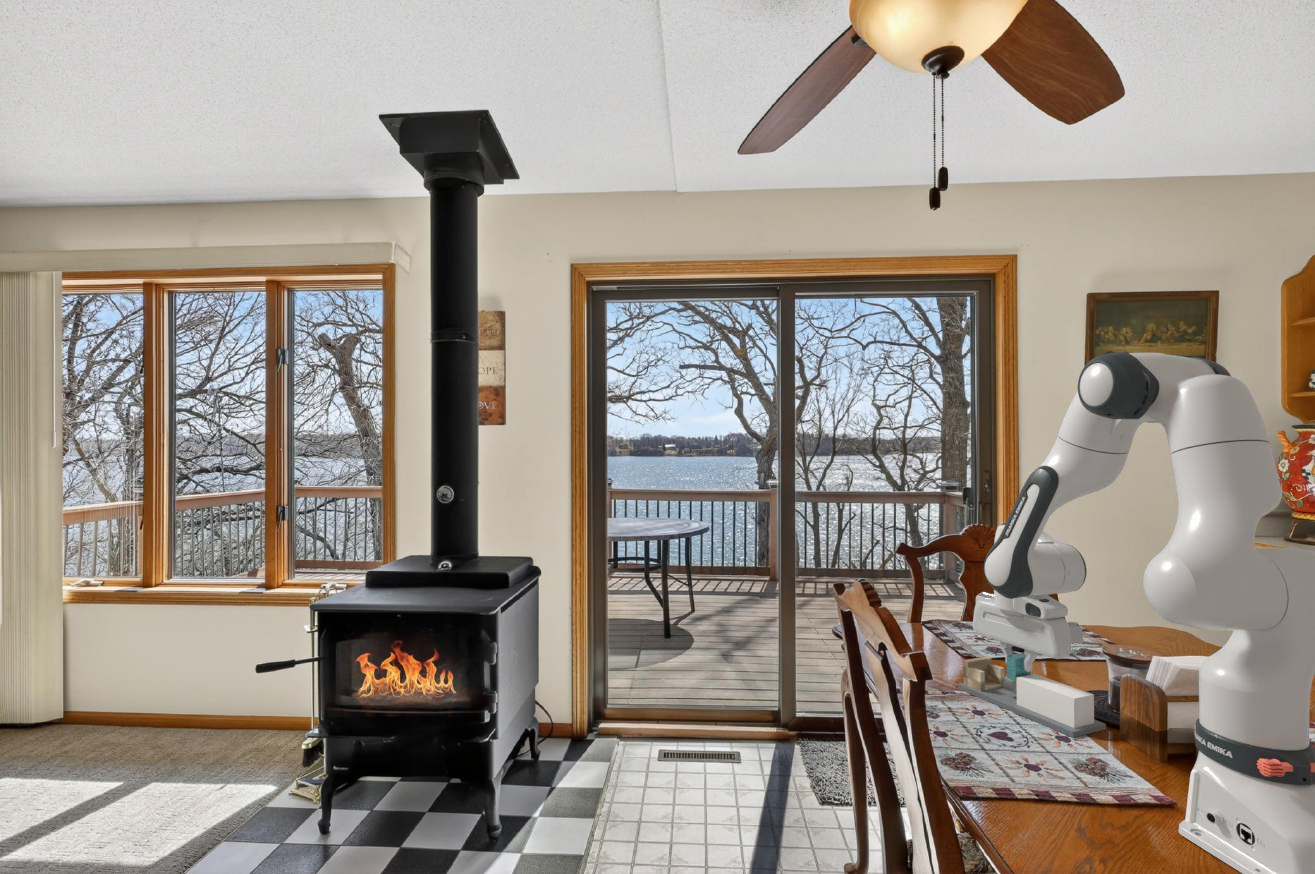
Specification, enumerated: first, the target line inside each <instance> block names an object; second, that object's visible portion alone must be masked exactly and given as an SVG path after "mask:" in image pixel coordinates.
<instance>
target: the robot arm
mask: <svg viewBox="0 0 1315 874" xmlns="http://www.w3.org/2000/svg"><path fill="white" fill-rule="evenodd" d="M1144 423H1151V424H1161V426H1162V427H1163V429H1164V430H1165V433H1166V437H1167V443H1168V450H1169V454H1170V459H1171V463H1172V470H1173V474H1174V475H1173V476H1174V481H1175V489H1176V495H1177V500H1178V501H1177V503H1178V504H1177V507H1178V508H1177V510H1178V511H1177V518H1176V523H1175V527H1174V530H1173V532H1172V534H1171V537H1170V539H1169V540H1168V542H1167V544H1166V545H1165V547H1164V548H1163V549H1162V550H1161V551H1160V552H1158V553H1157V554H1156V555H1155V556H1154V557H1153V558H1152V559H1151V560H1150V561H1149V562H1148V564H1147V566H1146V568H1145V570H1144V574H1143V578H1142V579H1143V580H1142V582H1143V583H1142V584H1143V592H1144V596H1145V598H1146V599H1147V602H1148V604H1149V605H1150V607H1151V609H1153V611H1154V612H1155V613H1157V615H1158V616H1159V617H1161V618H1162V619H1163V620H1165V621H1167V622H1169V623H1171V624H1176V625H1179V626H1180V625H1181V626H1184V627H1189V628H1194V629H1200V630H1206V631H1232V634H1231V635H1230V636H1229V639H1228V640H1227V641H1226V643H1225V644H1224V645H1223V646H1222V647H1221V648H1220V649H1219V650H1217V651H1216V652H1214V653H1213V654H1210V655H1209V656H1207V658H1205V660H1203V662H1202V663H1201V665H1200V667H1199V671H1198V704H1199V705H1198V706H1199V708H1198V710H1199V714H1198V716H1199V717H1198V718H1197V719H1196V720H1195V728H1194V737H1195V738H1194V740H1195V743H1194V744H1195V747H1196V749H1197V750H1198V754H1197V757H1196V761H1195V763H1194V766H1193V768H1192V770H1191V771H1190V777H1189V785H1188V793H1187V803H1186V809H1185V810H1186V812H1185V818H1184V819H1183V820H1182V821H1180V822H1179V825H1178V833H1179V835H1181V836H1182V837H1184V838H1185V839H1187V840H1188V841H1191V842H1192V843H1193V844H1195V845H1197V846H1198V847H1199V848H1202V850H1205V851H1206V852H1208V853H1209V854H1211V855H1212V856H1214V857H1215V858H1217V859H1219V860H1221V861H1222V862H1223V863H1225V864H1226V865H1228V866H1230V867H1232V868H1233V869H1235V870H1236V871H1238V872H1239V873H1240V874H1315V746H1314V744H1313V743H1312V742H1311V740H1310V707H1311V706H1310V705H1311V691H1312V686H1313V680H1314V678H1315V551H1314V550H1310V549H1304V548H1297V547H1256V543H1255V542H1256V541H1255V540H1256V531H1257V527H1258V524H1259V522H1260V520H1261V518H1263V517H1265V516H1267V515H1268V514H1270V513H1271V512H1273V511H1274V510H1275V509H1277V508H1278V507H1279V506H1280V503H1281V501H1282V498H1283V489H1282V485H1281V481H1280V478H1279V474H1278V470H1277V466H1276V463H1275V462H1276V461H1275V457H1274V453H1273V450H1272V446H1271V445H1272V444H1271V443H1270V442H1271V441H1270V438H1269V434H1268V431H1267V428H1266V425H1265V422H1264V419H1263V417H1262V414H1261V412H1260V410H1259V407H1258V406H1257V403H1256V402H1255V399H1254V397H1253V396H1252V394H1251V392H1250V391H1249V388H1248V387H1247V385H1246V384H1245V383H1244V382H1243V381H1241V380H1240V379H1238V378H1236V377H1234V376H1232V375H1231V373H1230V372H1229V371H1228V370H1227V368H1226V367H1224V366H1222V365H1221V364H1219V363H1218V362H1215V361H1212V360H1209V359H1207V358H1202V357H1198V356H1192V357H1187V356H1181V355H1173V354H1166V353H1163V352H1129V353H1128V352H1123V351H1117V352H1110V353H1105V354H1100V355H1097V356H1096V357H1093V358H1091V359H1090V360H1089V361H1088V362H1087V363H1086V364H1085V365H1084V366H1083V368H1082V370H1081V372H1080V374H1079V378H1078V382H1077V391H1076V393H1075V395H1074V397H1073V398H1072V400H1071V402H1070V403H1069V406H1068V408H1067V410H1066V412H1065V414H1064V417H1063V420H1062V422H1061V425H1060V427H1059V430H1058V434H1057V437H1056V440H1055V442H1054V444H1053V446H1052V447H1051V450H1050V452H1049V453H1048V455H1047V456H1046V458H1045V459H1044V461H1043V462H1042V463H1041V464H1040V465H1039V466H1038V467H1037V468H1035V470H1034V471H1032V473H1031V474H1030V475H1029V476H1028V477H1027V479H1026V481H1025V482H1024V484H1023V486H1022V488H1021V490H1020V492H1019V494H1018V495H1017V496H1018V497H1017V499H1016V501H1015V503H1014V505H1013V507H1012V509H1011V511H1010V513H1009V515H1008V518H1007V521H1006V522H1004V523H1001V524H999V525H998V526H997V527H996V531H995V536H994V543H993V545H992V546H991V548H990V549H989V551H987V554H986V556H985V559H984V562H983V573H984V577H985V579H986V581H987V583H988V584H989V586H990V587H991V588H992V589H993V593H991V592H986V591H981V592H980V593H978V594H977V595H976V596H975V605H974V610H973V620H972V629H973V631H974V632H975V633H974V634H977V635H980V636H982V637H986V638H988V639H991V640H995V641H998V642H999V647H1000V649H1001V651H1002V653H1003V655H1004V656H1005V660H1004V661H1005V664H1006V665H1007V656H1009V655H1015V654H1014V651H1012V649H1011V647H1013V646H1016V647H1019V648H1022V649H1024V652H1023V654H1025V655H1027V656H1026V658H1025V660H1024V661H1020V665H1021V666H1020V669H1021V670H1024V671H1027V672H1029V671H1031V672H1032V671H1033V667H1034V666H1033V665H1034V664H1033V663H1034V662H1035V660H1036V659H1037V657H1038V656H1039V655H1041V656H1045V657H1048V658H1051V659H1055V660H1061V659H1065V658H1067V657H1068V656H1070V654H1071V653H1072V642H1071V635H1070V627H1069V621H1067V620H1066V619H1065V618H1064V617H1067V616H1068V614H1069V609H1068V607H1067V605H1065V604H1063V603H1061V602H1060V601H1058V600H1056V599H1054V597H1051V596H1050V595H1054V594H1055V595H1057V594H1068V593H1072V592H1076V591H1078V590H1080V589H1081V588H1082V587H1083V585H1084V584H1085V581H1086V579H1087V573H1088V572H1087V564H1086V561H1085V559H1084V557H1083V555H1082V554H1081V552H1080V550H1078V549H1077V548H1076V547H1074V546H1073V545H1071V544H1066V543H1064V542H1062V541H1060V540H1057V539H1056V538H1054V537H1052V536H1050V535H1049V534H1047V533H1046V532H1045V531H1044V529H1045V527H1046V525H1047V522H1048V521H1049V519H1050V517H1051V516H1052V515H1053V514H1054V512H1056V511H1057V510H1058V509H1059V508H1061V507H1062V506H1064V505H1066V504H1068V503H1070V502H1072V501H1073V500H1077V499H1078V498H1081V497H1084V496H1088V495H1090V494H1093V493H1096V492H1099V491H1101V490H1104V489H1106V488H1107V487H1109V486H1111V485H1112V484H1113V483H1114V482H1115V481H1116V480H1117V479H1118V477H1119V476H1120V474H1121V473H1122V471H1123V469H1124V468H1125V465H1126V462H1127V459H1128V456H1129V453H1130V450H1131V447H1132V445H1133V442H1134V441H1133V440H1134V437H1135V434H1136V432H1137V430H1138V428H1139V427H1140V426H1142V424H1144Z"/></svg>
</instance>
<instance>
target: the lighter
mask: <svg viewBox="0 0 1315 874" xmlns="http://www.w3.org/2000/svg"><path fill="white" fill-rule="evenodd" d="M1068 624H1069V627H1070V635H1071V644H1072V643H1073V644H1081V643H1082V644H1083V643H1084V642H1083V641H1084V640H1083V626H1082V625H1080V624H1079V623H1078V622H1076V621H1068Z"/></svg>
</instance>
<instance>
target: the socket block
mask: <svg viewBox="0 0 1315 874" xmlns="http://www.w3.org/2000/svg"><path fill="white" fill-rule="evenodd" d="M992 661H993V660H992V657H990V656H981V657H975V658H968V659H963V660H962V662H963V663H962V664H963V665H962V667H963V668H962V669H963V670H962V672H963V673H962V675H963V677H962V678H963V682H962V683H963V684H964V685H967V686H969V687H971V688H974V689H976V690H979V691H985V690H990V689H995V688H1001V687H1003V680H1004V678H1005V674H1006V673H1005V667H1002V666H999V665H997V664H994V663H992Z"/></svg>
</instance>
